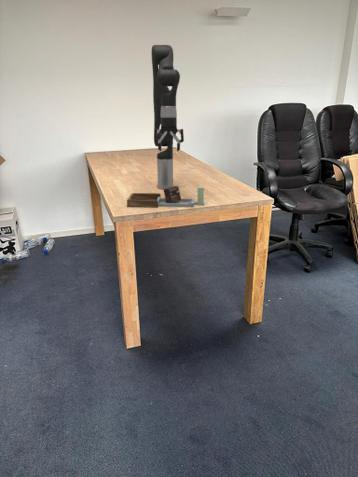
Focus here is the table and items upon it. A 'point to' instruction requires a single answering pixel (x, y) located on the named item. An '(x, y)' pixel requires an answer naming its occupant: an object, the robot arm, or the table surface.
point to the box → (172, 194)
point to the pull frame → (184, 200)
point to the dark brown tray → (143, 200)
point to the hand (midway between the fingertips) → (169, 151)
